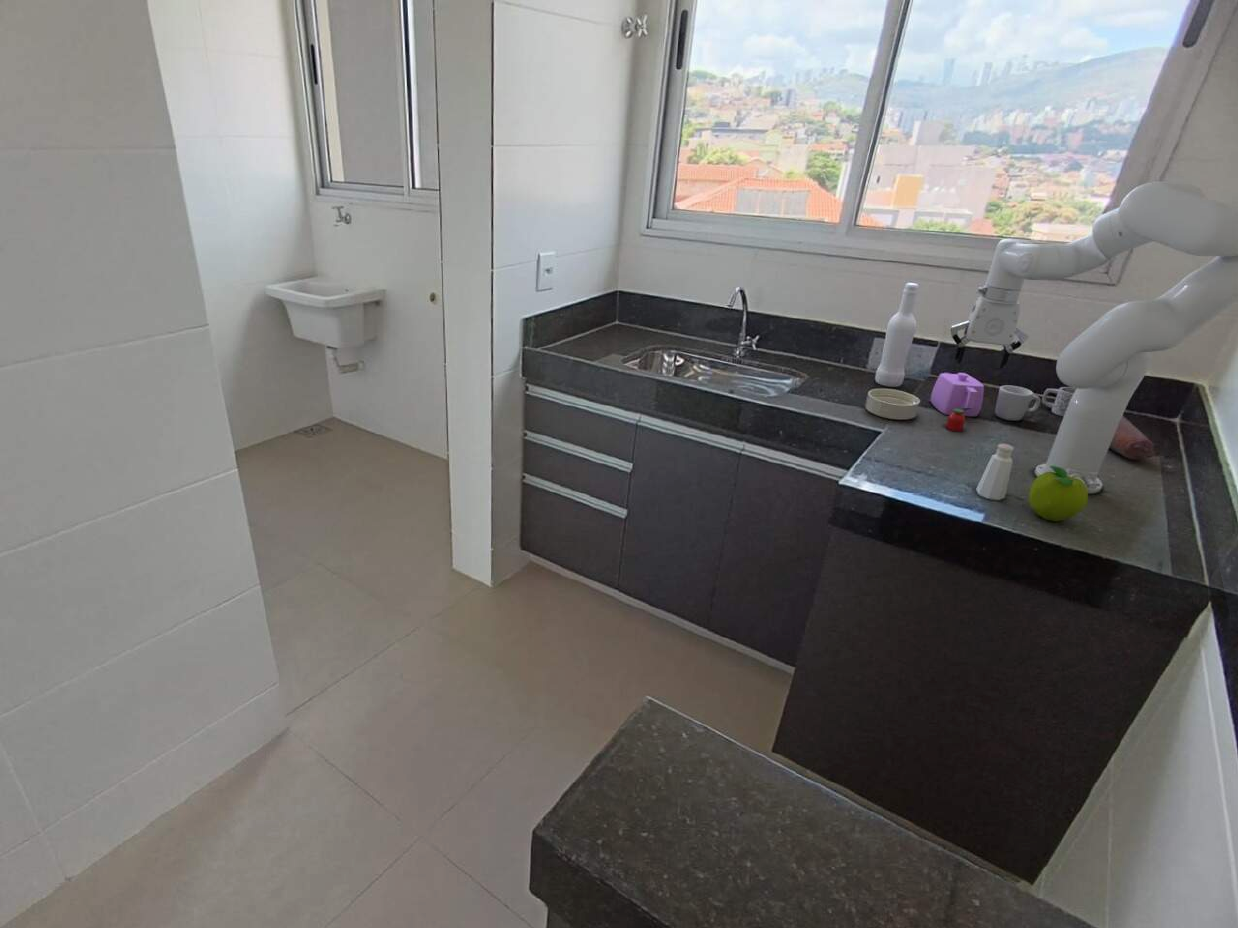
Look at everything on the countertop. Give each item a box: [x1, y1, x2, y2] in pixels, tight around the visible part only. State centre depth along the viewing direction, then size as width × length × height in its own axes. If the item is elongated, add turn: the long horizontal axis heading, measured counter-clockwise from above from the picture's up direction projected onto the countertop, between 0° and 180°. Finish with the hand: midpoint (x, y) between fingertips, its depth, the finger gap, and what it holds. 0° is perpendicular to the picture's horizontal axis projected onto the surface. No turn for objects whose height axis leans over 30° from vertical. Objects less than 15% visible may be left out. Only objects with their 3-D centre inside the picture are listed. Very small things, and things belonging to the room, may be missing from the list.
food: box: [1109, 415, 1156, 461], centre depth 162 cm, size 21×9×9 cm, turn 1°
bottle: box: [874, 282, 919, 388], centre depth 194 cm, size 8×8×30 cm
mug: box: [1041, 386, 1077, 418], centre depth 184 cm, size 10×7×7 cm, turn 42°
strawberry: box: [945, 409, 966, 432], centre depth 168 cm, size 4×4×5 cm
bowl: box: [864, 388, 921, 421], centre depth 176 cm, size 13×13×4 cm
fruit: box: [1028, 466, 1089, 522], centre depth 126 cm, size 9×9×10 cm
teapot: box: [930, 372, 985, 417], centre depth 181 cm, size 18×10×10 cm, turn 178°
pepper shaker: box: [975, 443, 1015, 501], centre depth 134 cm, size 5×5×11 cm
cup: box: [994, 384, 1041, 422], centre depth 177 cm, size 11×8×8 cm
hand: (978, 364), depth 162 cm, fingers open, 9 cm apart
